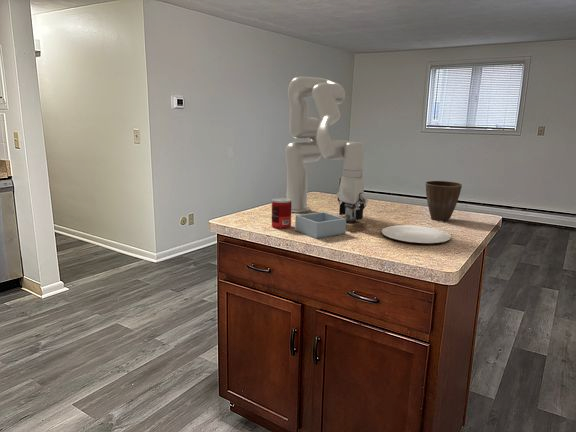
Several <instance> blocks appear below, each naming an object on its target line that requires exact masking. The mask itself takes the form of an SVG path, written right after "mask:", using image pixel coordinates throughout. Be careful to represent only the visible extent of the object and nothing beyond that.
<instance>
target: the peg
mask: <svg viewBox="0 0 576 432" xmlns="http://www.w3.org/2000/svg"><path fill="white" fill-rule="evenodd" d="M356 210H357V207H356V205H355V204H349V203H345V215H344V218H345V219H346V223H348V224H353V223H356V219H355V217H356Z"/></svg>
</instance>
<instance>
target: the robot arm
mask: <svg viewBox="0 0 576 432" xmlns="http://www.w3.org/2000/svg"><path fill="white" fill-rule="evenodd" d="M287 97H288V102H289V121H288V122H289V127H288V131H289V135H290V137H291V138H293V139H295V140H296V139H297V140H299V139H303V140H305V139H307V140H308V141H293V142H290V143H288V144H287V145H286V147H285V150H284V155H285V161H286V198H289V199H291V201H292V205H291V213H296V214H297V213H300V214H301V213H307V212H310V210H311V207H310V206H308V180H309V179H308V176H309V175H308V169H307V167H306V165H305V163H315V162H318V161H320V160H321V158H322V157H323V159H325V160H330V161H333V160H334V161H335V160H343V165H342V166H343V170H342V176H341V179H340V184H339V190H338V192H336V197H337V201H338V205H339V208H338V209H339V212H338V213H339V216H345V203H349V204H355V205H356V207H357V210H356V217H355V219H356V220H359V221H361V220H363V218H364V217H363V216H364V209H365V208H366V207H367V205H368V201H369V199H368V198H367V197H366V196H365V186H364V178H363V175H364V172H363V170H364V154H365V144H364V143H363V142H360V141H351V140H348V139H347V140H346V139H342V140H341V139H338V140H336V139H335V140H334V139H333V140H332V139H331V137H330V133H329V126H332V125H334V124H335V123H336V122H338V121H339V120H340V119H341V117H342V116H341V112H340V109H339V106H338V105H341V104H342V103H343V102H344V101H345V99H346V92H345V89H344V87H343V86H342V85H341V84H340V83H338V82H335V81H332V80H330V79H327V78H323V77H315V76H297V77H294V78H293V79H292V80H291V81H290V83H289V85H288V88H287ZM306 98H312V99H313V102H314V103H313V104H314V106H315V109H316V113H317V114H318V117H319V118H318V117H310V116H309V114H310V113H309V112H310V111H309V110H310V109H309V107H310V106H309V104H308V101H307V100H306Z"/></svg>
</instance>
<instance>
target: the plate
mask: <svg viewBox="0 0 576 432" xmlns="http://www.w3.org/2000/svg"><path fill="white" fill-rule="evenodd" d="M380 233H382V235H383V236H385V237H386V238H389V239H391V240H395V241H397V242H398V241H399V242H404V243H409V244H410V243H411V244H419V245H422V244H423V245H433V244H435V245H436V244H442V243H446V242H448V241H450V240H451V239H452V237H451V235H450V234H449V233H447V232H446V231H444V230H440V229H437V228H433V227H428V226H423V225H407V224H406V225H391V226H387V227H384V228H382V230H381V232H380Z"/></svg>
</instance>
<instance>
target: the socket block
mask: <svg viewBox="0 0 576 432" xmlns="http://www.w3.org/2000/svg"><path fill="white" fill-rule="evenodd" d="M362 230H367V222H365V221H362V220H356V223H353V224H348V223H346V232H355V231H362Z"/></svg>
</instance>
